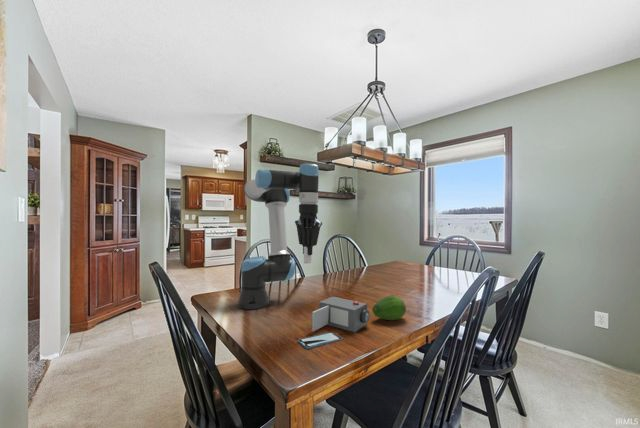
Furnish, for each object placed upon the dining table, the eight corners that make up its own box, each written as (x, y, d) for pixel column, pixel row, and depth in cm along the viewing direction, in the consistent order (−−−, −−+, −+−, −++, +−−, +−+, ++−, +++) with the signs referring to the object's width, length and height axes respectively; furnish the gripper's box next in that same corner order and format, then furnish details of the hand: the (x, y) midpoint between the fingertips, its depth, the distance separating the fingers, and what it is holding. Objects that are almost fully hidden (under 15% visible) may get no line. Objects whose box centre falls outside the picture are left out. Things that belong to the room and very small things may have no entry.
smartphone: (343, 338, 101) (307, 347, 93) (343, 341, 101) (307, 350, 93) (332, 331, 107) (297, 339, 99) (332, 333, 107) (296, 342, 99)
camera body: (319, 322, 117) (319, 300, 117) (332, 315, 125) (332, 294, 125) (359, 333, 106) (359, 309, 106) (371, 325, 114) (371, 302, 114)
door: (325, 322, 115) (325, 304, 115) (329, 323, 114) (329, 305, 114) (310, 330, 107) (310, 311, 107) (314, 331, 106) (314, 312, 106)
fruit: (378, 326, 113) (378, 301, 114) (367, 317, 123) (367, 294, 123) (411, 322, 118) (411, 298, 118) (398, 314, 127) (398, 292, 127)
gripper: (290, 203, 112) (289, 261, 113) (314, 203, 104) (313, 266, 105) (303, 203, 118) (302, 259, 119) (327, 203, 110) (326, 264, 110)
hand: (307, 262), depth 112 cm, fingers closed
